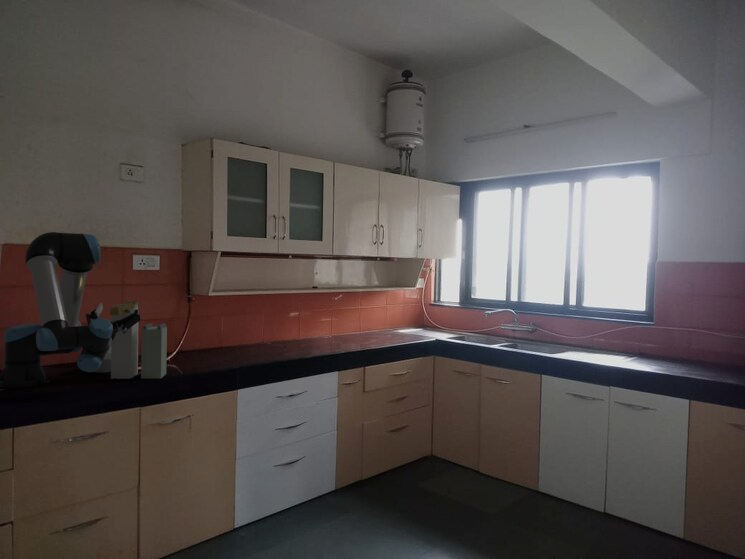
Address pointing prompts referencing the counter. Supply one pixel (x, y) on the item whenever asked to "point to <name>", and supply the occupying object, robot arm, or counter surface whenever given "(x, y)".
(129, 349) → the block
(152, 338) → the upright grey pillar
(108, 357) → the cereal bowl
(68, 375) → the counter surface
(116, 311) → the brass pin
